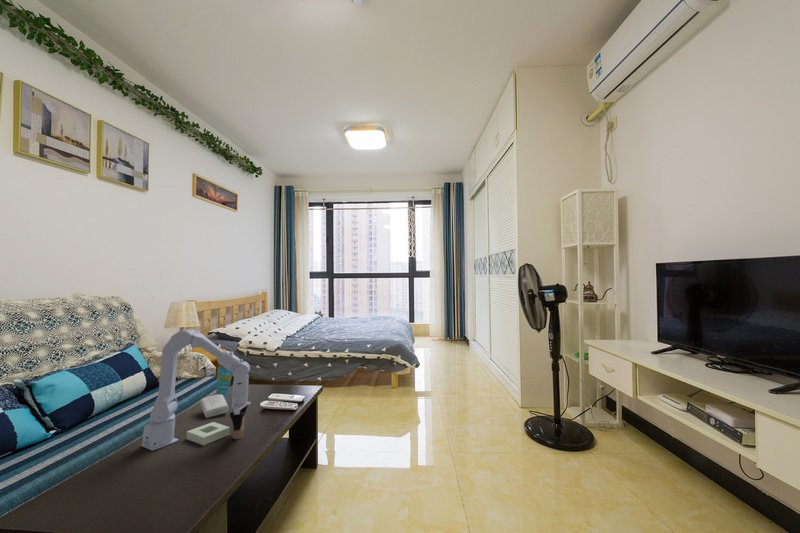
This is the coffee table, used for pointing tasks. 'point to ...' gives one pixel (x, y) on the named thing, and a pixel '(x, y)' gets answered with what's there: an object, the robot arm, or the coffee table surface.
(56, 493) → the coffee table surface
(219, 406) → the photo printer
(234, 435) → the peg
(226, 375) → the tube
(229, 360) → the robot arm
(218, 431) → the socket
